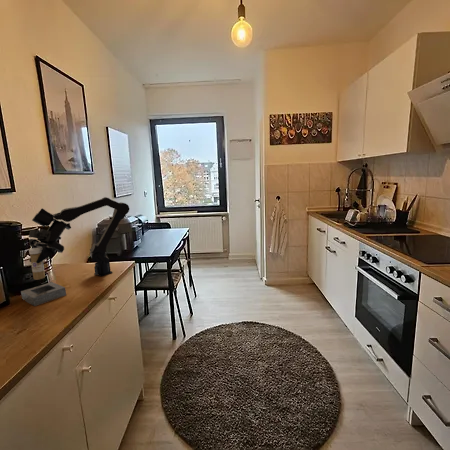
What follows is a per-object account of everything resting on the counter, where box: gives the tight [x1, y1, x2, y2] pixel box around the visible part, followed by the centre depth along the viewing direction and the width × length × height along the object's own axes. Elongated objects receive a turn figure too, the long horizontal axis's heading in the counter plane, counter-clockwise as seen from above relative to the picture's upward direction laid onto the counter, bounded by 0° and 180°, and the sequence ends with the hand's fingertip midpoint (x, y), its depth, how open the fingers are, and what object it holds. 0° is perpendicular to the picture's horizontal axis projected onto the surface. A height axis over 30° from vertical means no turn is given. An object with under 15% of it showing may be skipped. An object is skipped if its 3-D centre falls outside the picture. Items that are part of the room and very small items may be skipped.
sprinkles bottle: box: [28, 247, 46, 281], centre depth 124 cm, size 5×5×14 cm
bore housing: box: [20, 281, 67, 307], centre depth 119 cm, size 12×12×4 cm
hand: (33, 262), depth 123 cm, fingers closed on sprinkles bottle, 4 cm apart
